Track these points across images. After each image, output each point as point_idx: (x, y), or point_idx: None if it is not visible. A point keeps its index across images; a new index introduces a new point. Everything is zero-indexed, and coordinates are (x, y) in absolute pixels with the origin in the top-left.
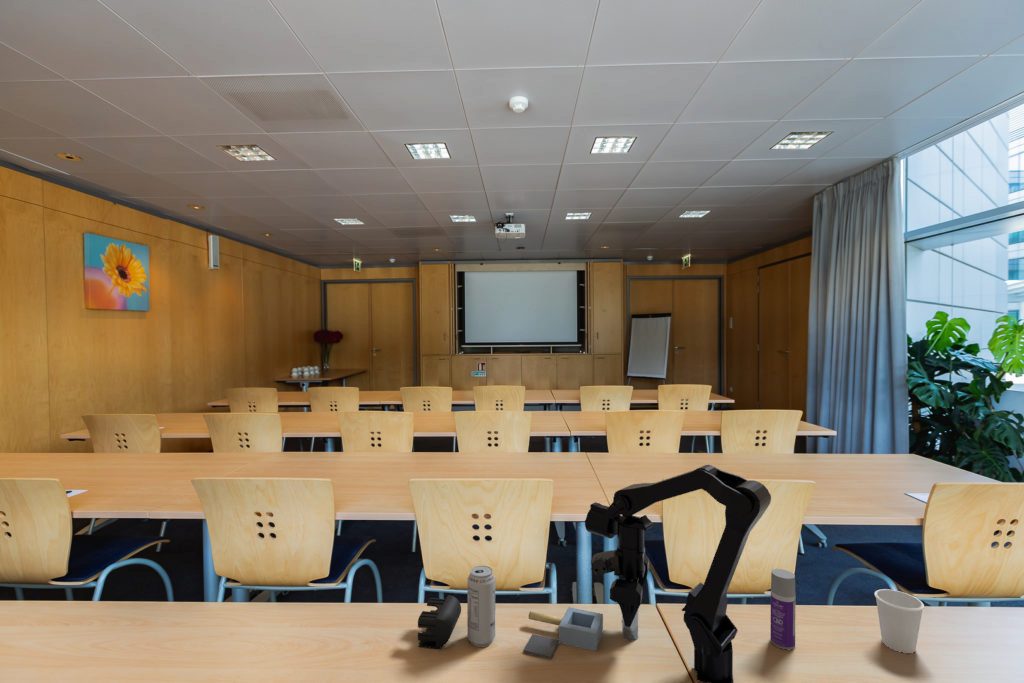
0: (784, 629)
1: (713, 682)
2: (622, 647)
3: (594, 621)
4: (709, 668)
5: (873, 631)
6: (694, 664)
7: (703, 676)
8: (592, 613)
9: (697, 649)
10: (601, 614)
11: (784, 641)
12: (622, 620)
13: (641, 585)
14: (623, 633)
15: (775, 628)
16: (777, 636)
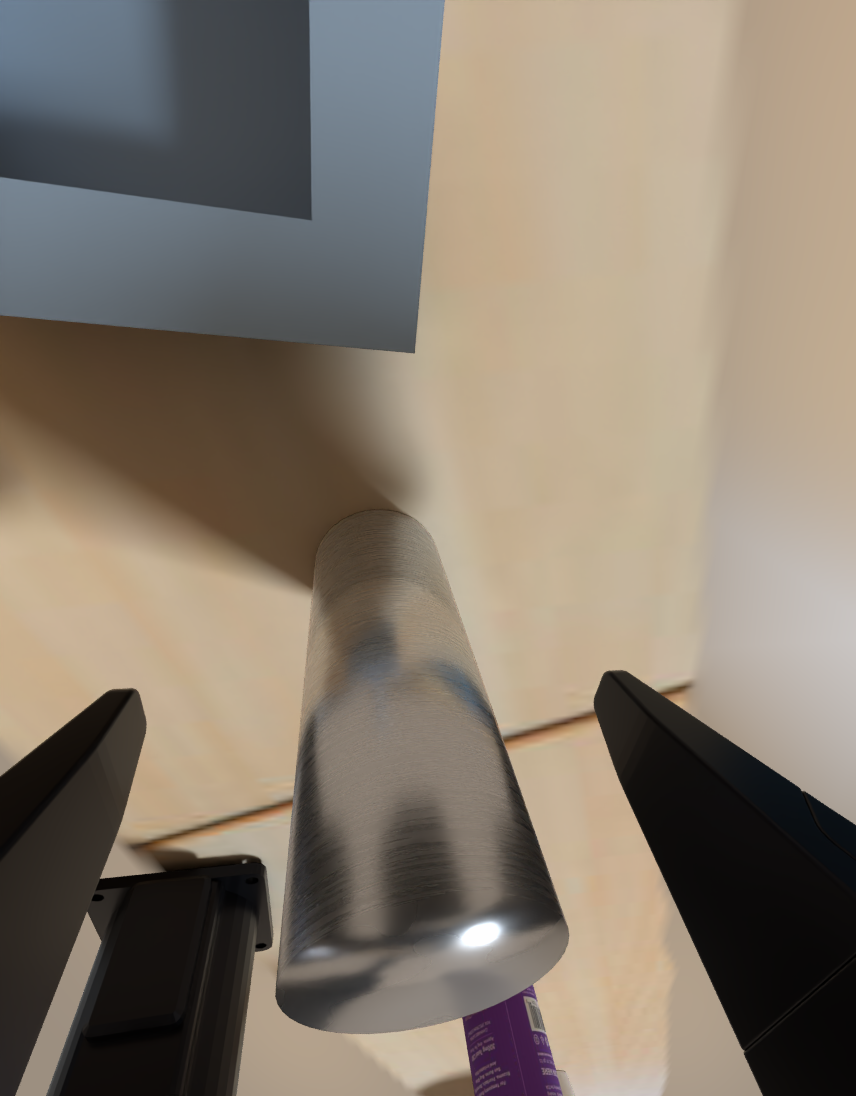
0: (476, 1094)
1: (96, 930)
2: (190, 529)
3: (139, 226)
4: (84, 989)
5: (588, 1060)
6: (122, 921)
7: (116, 905)
8: (376, 161)
9: (75, 1057)
10: (391, 332)
11: (465, 1031)
12: (361, 586)
13: (730, 995)
14: (339, 537)
15: (489, 1070)
16: (477, 1035)
